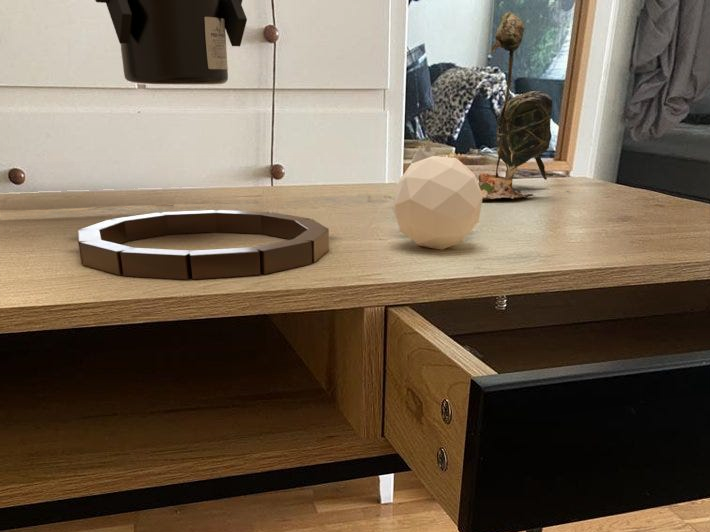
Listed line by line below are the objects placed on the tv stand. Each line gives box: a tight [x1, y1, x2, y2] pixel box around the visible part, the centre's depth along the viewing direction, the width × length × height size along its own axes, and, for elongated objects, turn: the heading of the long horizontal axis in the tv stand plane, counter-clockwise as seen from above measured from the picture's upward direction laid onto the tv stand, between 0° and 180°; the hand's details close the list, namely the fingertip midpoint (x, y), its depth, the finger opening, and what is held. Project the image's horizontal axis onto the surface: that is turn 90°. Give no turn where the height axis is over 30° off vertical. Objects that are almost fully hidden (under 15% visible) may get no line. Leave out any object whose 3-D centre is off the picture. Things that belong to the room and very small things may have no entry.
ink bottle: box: [119, 0, 229, 86], centre depth 64 cm, size 10×9×12 cm
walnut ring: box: [77, 209, 330, 281], centre depth 66 cm, size 21×21×2 cm
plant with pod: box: [478, 11, 555, 200], centre depth 92 cm, size 8×11×20 cm
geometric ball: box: [392, 155, 484, 251], centre depth 67 cm, size 8×8×8 cm
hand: (184, 31), depth 62 cm, fingers closed on ink bottle, 9 cm apart
